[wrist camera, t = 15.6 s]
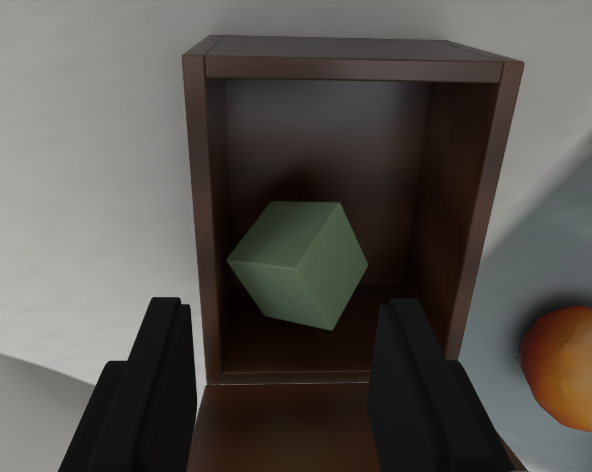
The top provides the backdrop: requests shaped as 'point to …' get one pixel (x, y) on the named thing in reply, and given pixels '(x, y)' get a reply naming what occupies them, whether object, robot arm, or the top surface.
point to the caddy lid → (287, 429)
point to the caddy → (343, 184)
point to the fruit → (561, 365)
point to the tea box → (300, 262)
